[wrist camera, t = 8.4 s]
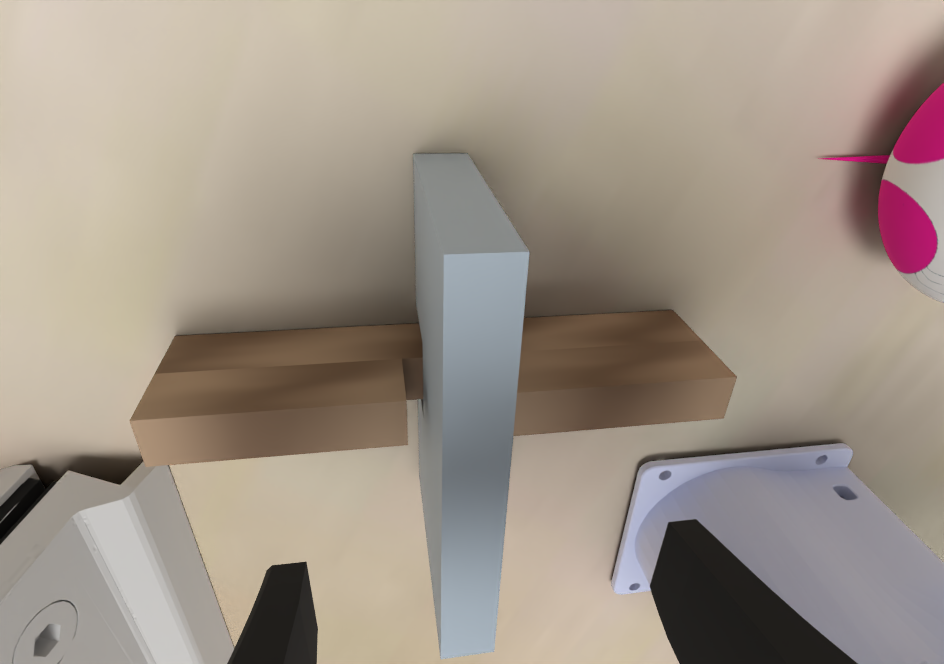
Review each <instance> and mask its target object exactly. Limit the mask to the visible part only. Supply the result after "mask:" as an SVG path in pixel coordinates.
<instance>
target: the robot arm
mask: <svg viewBox="0 0 944 664" xmlns="http://www.w3.org/2000/svg"><path fill="white" fill-rule="evenodd" d="M852 456H853V450H852V449H851V448H850V447H849V446H848V445H846V444H844V443H838V444H828V445H817V446H807V447H796V448H786V449H775V450H765V451H754V452H743V453H733V454H722V455H712V456H701V457H691V458H680V459H669V460H659V461H650V462H647V463H645V464H643V465H642V466H641V467H640V469H639V471H638V474H637V478H636V483H635V487H634V491H633V495H632V499H631V503H630V507H629V512H628V516H627V520H626V524H625V528H624V532H623V536H622V541H621V545H620V549H619V553H618V557H617V561H616V565H615V570H614V574H613V578H612V582H611V586H612V588H613V590H614V592H615V593H617V594H629V593H637V592H644V591H651V592H652V595H653V598H654V601H655V604H656V607H657V610H658V613H659V616H660V618H661V621H662V624H663V627H664V629H665V632H666V635H667V638H668V640H669V642H670V644H671V646H672V648H673V650H674V653H675V655H676V657H677V659H678V661H679V663H680V664H944V562H943V561H942V560H941V559H940V558H939V557H938V556H937V555H936V554H935V553H933V552H932V551H931V550H930V549H929V548H928V547H927V546H926V545H925V544H924V543H923V542H922V541H921V540H920V539H919V538H918V537H917V536H916V535H915V534H914V533H913V532H912V531H911V530H910V529H909V528H908V527H907V526H906V525H905V524H904V523H903V522H902V521H901V520H900V519H899V518H898V517H897V516H896V515H895V514H894V513H893V512H892V511H891V510H890V509H889V508H888V507H887V506H886V505H885V504H884V503H883V502H882V501H881V500H880V499H879V498H878V497H877V496H876V495H875V494H874V493H873V492H872V491H871V490H870V489H869V488H868V487H867V486H866V485H865V484H864V483H863V482H862V481H861V480H860V479H859V478H858V477H857V476H856V475H855V474H854V473H853V472H852V471H851V470H850V469H849V468H848V464H849V462H850V460H851V458H852ZM663 471H664V472H663ZM317 634H318V627H317V622H316V616H315V610H314V604H313V598H312V592H311V587H310V581H309V575H308V569H307V563H306V562H299V563H290V564H281V565H272V566H271V567H270V568H269V569H268V570H267V571H266V574H265V577H264V580H263V583H262V585H261V588H260V591H259V593H258V596H257V598H256V601H255V603H254V606H253V608H252V611H251V613H250V615H249V618H248V620H247V622H246V624H245V627H244V629H243V631H242V633H241V635H240V638H239V640H238V642H237V644H236V646H235V648H234V650H233V653H232V655H231V657H230V659H229V661H228V663H227V664H316V663H317Z"/></svg>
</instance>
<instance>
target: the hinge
mask: <svg viewBox="0 0 944 664" xmlns="http://www.w3.org/2000/svg"><path fill="white" fill-rule="evenodd" d="M233 650H234V646H233V644H232V641H231V638H230V635H229V632H228V630H227V627H226V624H225V621H224V619H223V616H222V613H221V610H220V607H219V605H218V602H217V599H216V596H215V594H214V591H213V588H212V585H211V583H210V580H209V577H208V574H207V571H206V569H205V566H204V563H203V560H202V558H201V555H200V552H199V549H198V546H197V544H196V541H195V538H194V535H193V533H192V530H191V527H190V524H189V521H188V519H187V516H186V513H185V510H184V508H183V505H182V502H181V499H180V497H179V494H178V491H177V488H176V485H175V483H174V480H173V477H172V474H171V472H170V469H169V466H168V465H164V466H152V467H145V464H144V461H143V462H142V463H141V464H140V465H139V466H138V467H137V468H136V469H135V471H134V472H133V473H132V474H131V475H130V476H129V477H128V478H127V479H126V480H125V481H124V482H123V483H122V484H121V485H118V484H114V483H111V482H107V481H104V480H100V479H97V478H93V477H90V476H86V475H83V474H79V473H76V472H72V471H69V470H68V471H67V472H66V473H65V474H64V475H63V476H62V477H61V479H60V480H59V481H58V482H54V481H53V482H52V483H51V484H50V485H49V487H48V488H47V489H45V487H44V485H43V483H42V482H41V480H40V479H39V477H38V475H37V473H36V471H35V469H34V468H33V466H32V465H13V466H10V467H7V468H3V469H0V664H227V663H228V661H229V659H230V657H231V655H232V653H233Z"/></svg>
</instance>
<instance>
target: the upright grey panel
mask: <svg viewBox="0 0 944 664" xmlns="http://www.w3.org/2000/svg"><path fill="white" fill-rule="evenodd" d="M413 173H414V224H415V276H416V307H417V313H418V319H419V325H420V331H421V337H422V343H423V399H418V430H419V478H420V486H421V495H422V503H423V512H424V520H425V529H426V538H427V546H428V555H429V563H430V572H431V580H432V589H433V598H434V606H435V615H436V623H437V632H438V640H439V649H440V658H441V659H446V658H453V657H460V656H467V655H474V654H481V653H488V652H494V647H495V636H496V624H497V613H498V602H499V591H500V579H501V568H502V557H503V545H504V534H505V523H506V512H507V500H508V489H509V478H510V466H511V455H512V444H513V433H514V421H515V410H516V399H517V387H518V376H519V365H520V354H521V342H522V331H523V320H524V308H525V297H526V286H527V275H528V263H529V250H528V248H527V247H526V245H525V244H524V242H523V241H522V239H521V237H520V236H519V234H518V233H517V231H516V229H515V228H514V226H513V225H512V223H511V222H510V220H509V218H508V217H507V215H506V214H505V212H504V210H503V209H502V207H501V206H500V204H499V202H498V201H497V199H496V198H495V196H494V195H493V193H492V191H491V190H490V188H489V187H488V185H487V183H486V182H485V180H484V179H483V177H482V175H481V174H480V172H479V171H478V169H477V168H476V166H475V164H474V163H473V161H472V160H471V158H470V156H469V155H468V153H438V154H413Z"/></svg>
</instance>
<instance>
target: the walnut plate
mask: <svg viewBox="0 0 944 664" xmlns="http://www.w3.org/2000/svg"><path fill="white" fill-rule="evenodd" d="M736 379H737V376H736V375H735V374H734V373H733V372H732V371H731V370H730V369H729V368H728V367H727V366H726V365H725V364H724V363H723V362H722V361H721V360H720V359H719V358H718V357H717V356H716V354H715V353H714V352H713V351H712V350H711V349H710V348H709V347H708V346H707V345H706V344H705V343H704V342H703V341H702V340H701V339H700V338H699V337H698V336H697V335H696V334H695V333H694V332H693V331H692V329H691V328H690V327H689V326H688V325H687V324H686V323H685V322H684V321H683V320H682V319H681V318H680V317H679V316H678V315H677V314H676V313H675V312H674V311H673V310H665V311H646V312H627V313H608V314H588V315H569V316H550V317H531V318H524V320H523V331H522V342H521V354H520V365H519V376H518V387H517V399H516V410H515V421H514V433H513V436H520V435H532V434H544V433H556V432H568V431H580V430H591V429H603V428H615V427H627V426H639V425H651V424H663V423H675V422H687V421H698V420H710V419H722V418H724V416H725V413H726V409H727V406H728V403H729V400H730V397H731V394H732V391H733V388H734V385H735V382H736ZM416 399H423V343H422V337H421V331H420V325H419V323H415V324H396V325H377V326H357V327H338V328H319V329H300V330H280V331H261V332H242V333H223V334H203V335H184V336H175V337H174V339H173V341H172V343H171V345H170V346H169V348H168V350H167V352H166V354H165V356H164V358H163V359H162V361H161V363H160V365H159V367H158V369H157V371H156V373H155V374H154V376H153V378H152V380H151V382H150V384H149V386H148V387H147V389H146V391H145V393H144V395H143V397H142V399H141V401H140V402H139V404H138V406H137V408H136V410H135V412H134V414H133V415H132V417H131V419H130V424H131V426H132V429H133V432H134V435H135V438H136V441H137V444H138V447H139V450H140V453H141V456H142V458H143V461H144V464H145V467H152V466H164V465H176V464H187V463H199V462H211V461H223V460H235V459H247V458H259V457H271V456H283V455H294V454H306V453H318V452H330V451H342V450H354V449H366V448H378V447H389V446H401V445H408V436H407V404H406V400H416Z"/></svg>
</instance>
